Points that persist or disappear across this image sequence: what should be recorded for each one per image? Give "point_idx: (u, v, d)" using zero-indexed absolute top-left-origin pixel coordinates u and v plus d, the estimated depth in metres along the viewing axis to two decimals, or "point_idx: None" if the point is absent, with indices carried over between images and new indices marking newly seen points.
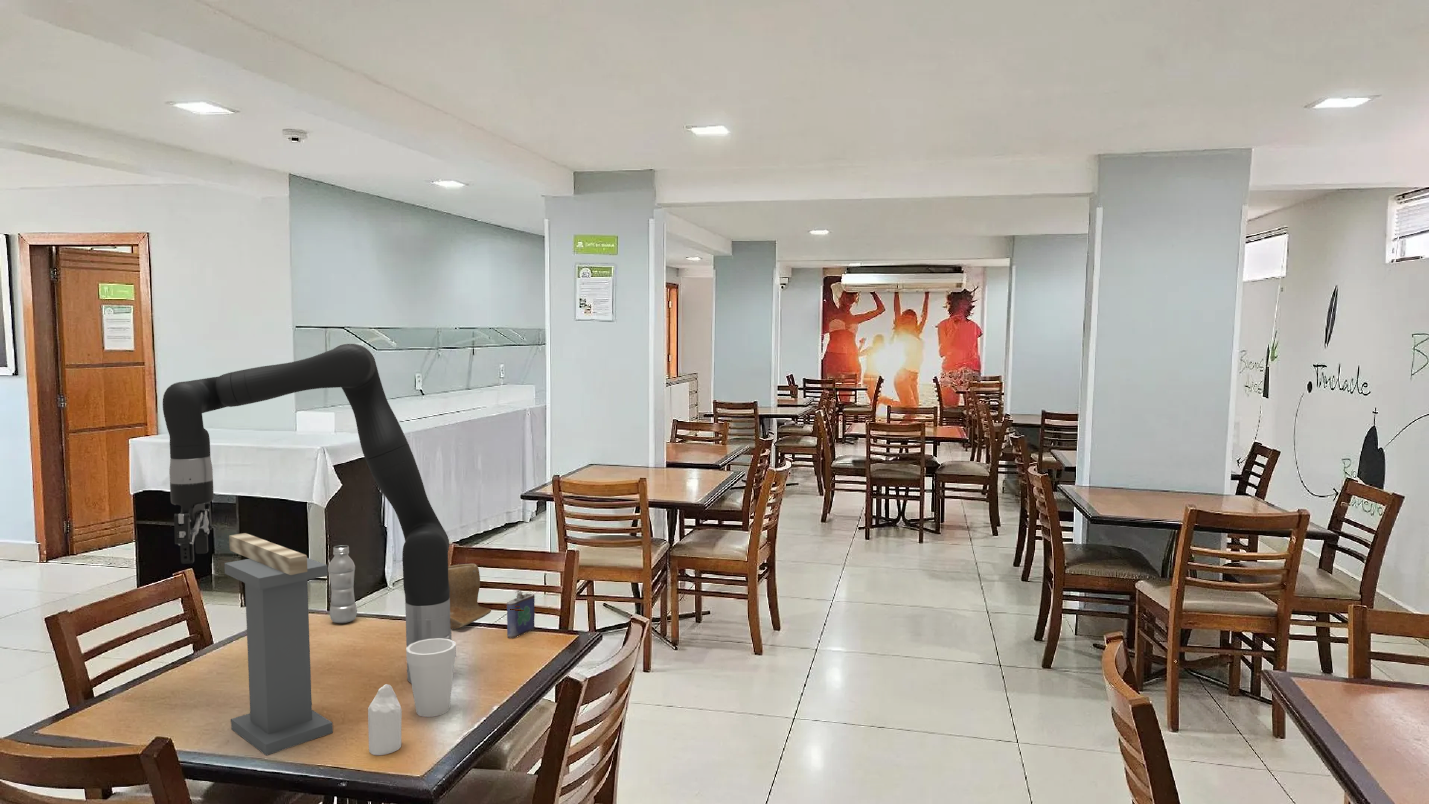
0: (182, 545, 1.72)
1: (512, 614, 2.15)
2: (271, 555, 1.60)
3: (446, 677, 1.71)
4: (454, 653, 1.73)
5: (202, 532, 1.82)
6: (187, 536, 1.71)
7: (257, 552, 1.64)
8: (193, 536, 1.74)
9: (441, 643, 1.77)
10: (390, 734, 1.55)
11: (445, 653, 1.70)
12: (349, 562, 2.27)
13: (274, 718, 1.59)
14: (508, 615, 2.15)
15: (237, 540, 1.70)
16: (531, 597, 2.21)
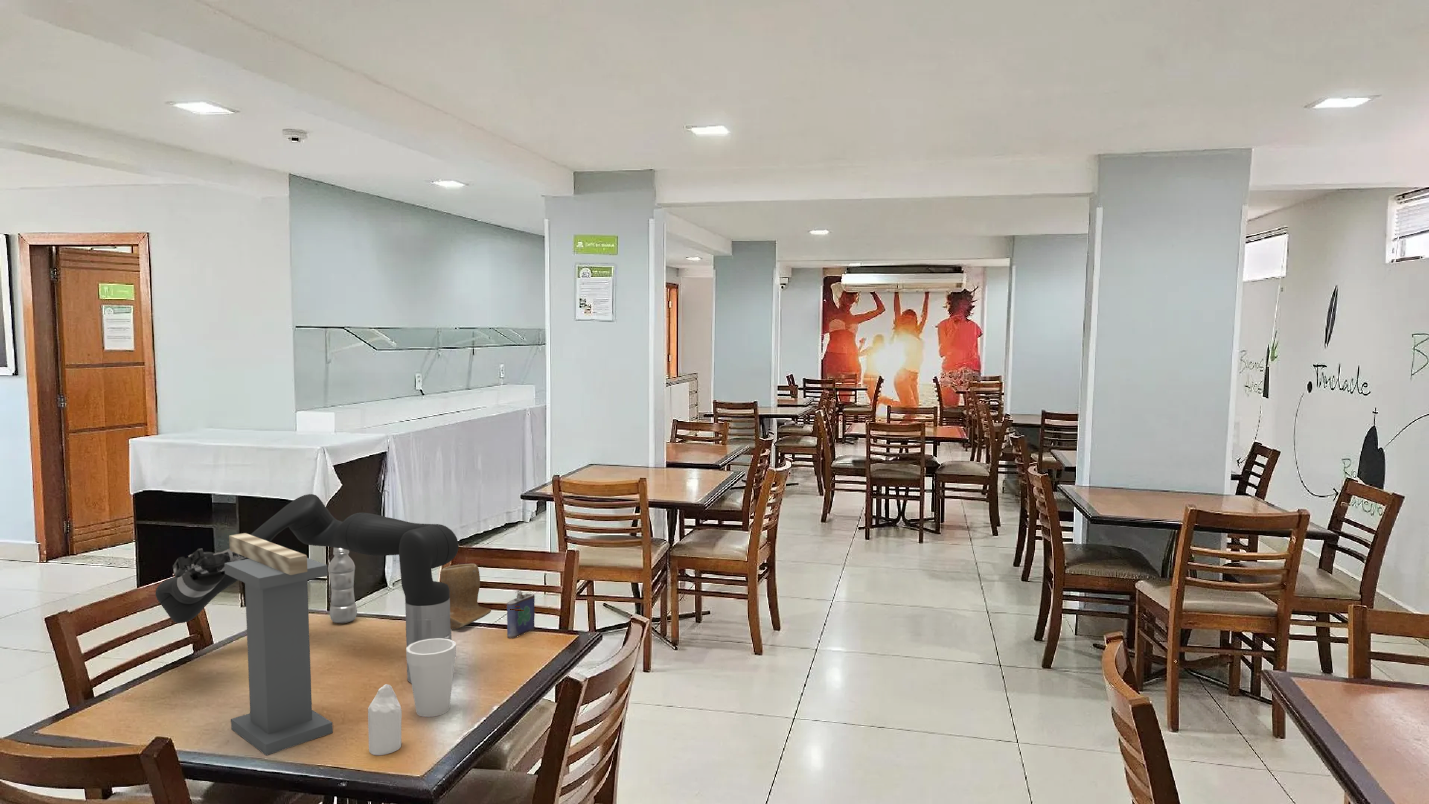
0: (189, 562, 1.77)
1: (512, 614, 2.15)
2: (271, 555, 1.60)
3: (446, 677, 1.71)
4: (454, 653, 1.73)
5: None
6: (177, 560, 1.77)
7: (257, 552, 1.64)
8: None
9: (441, 643, 1.77)
10: (390, 734, 1.55)
11: (445, 653, 1.70)
12: (349, 562, 2.27)
13: (274, 718, 1.59)
14: (508, 615, 2.15)
15: (237, 540, 1.70)
16: (531, 597, 2.21)
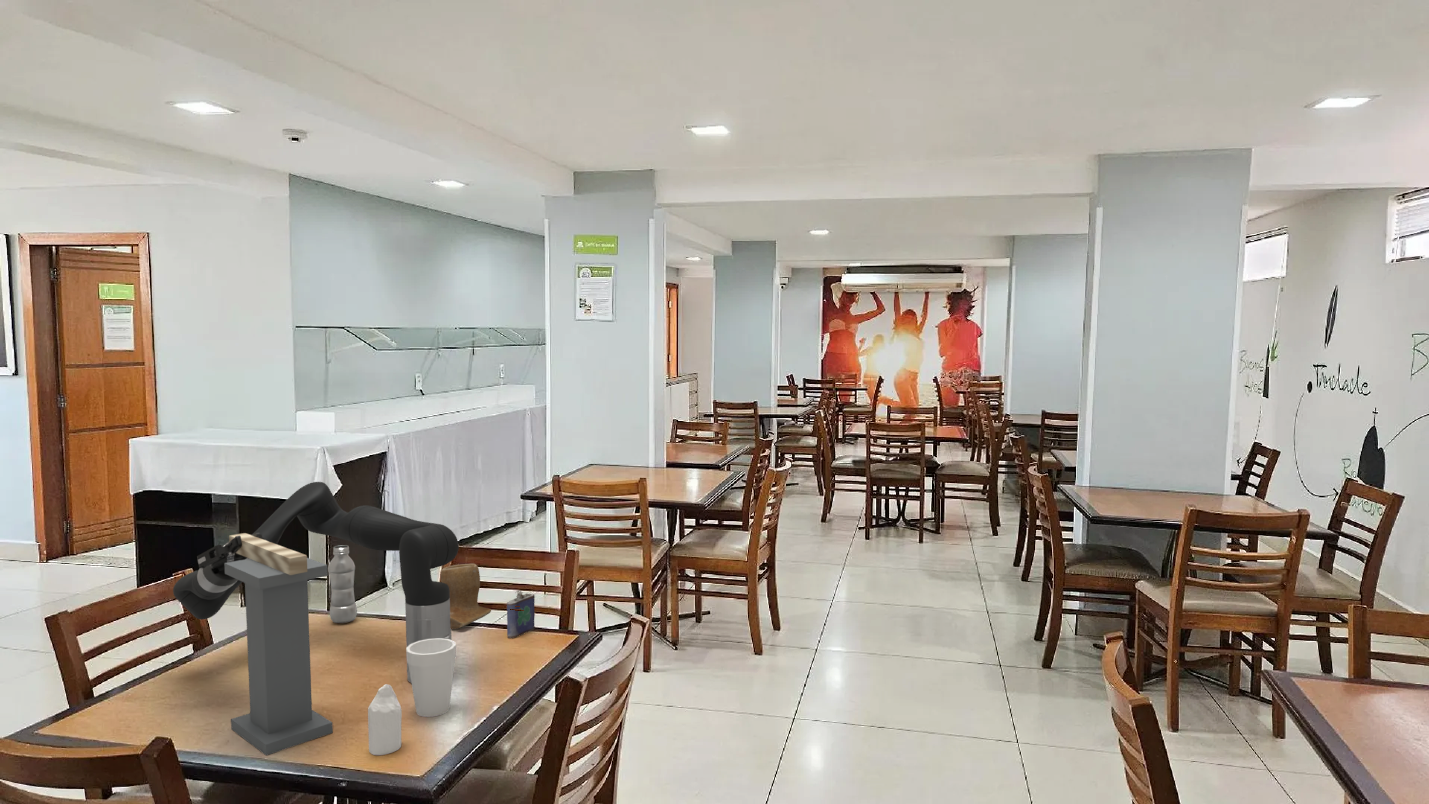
0: (227, 550, 1.70)
1: (512, 614, 2.15)
2: (271, 555, 1.60)
3: (446, 677, 1.71)
4: (454, 653, 1.73)
5: None
6: (212, 548, 1.70)
7: (257, 552, 1.64)
8: None
9: (441, 643, 1.77)
10: (390, 734, 1.55)
11: (445, 653, 1.70)
12: (349, 562, 2.27)
13: (274, 718, 1.59)
14: (508, 615, 2.15)
15: None
16: (531, 597, 2.21)
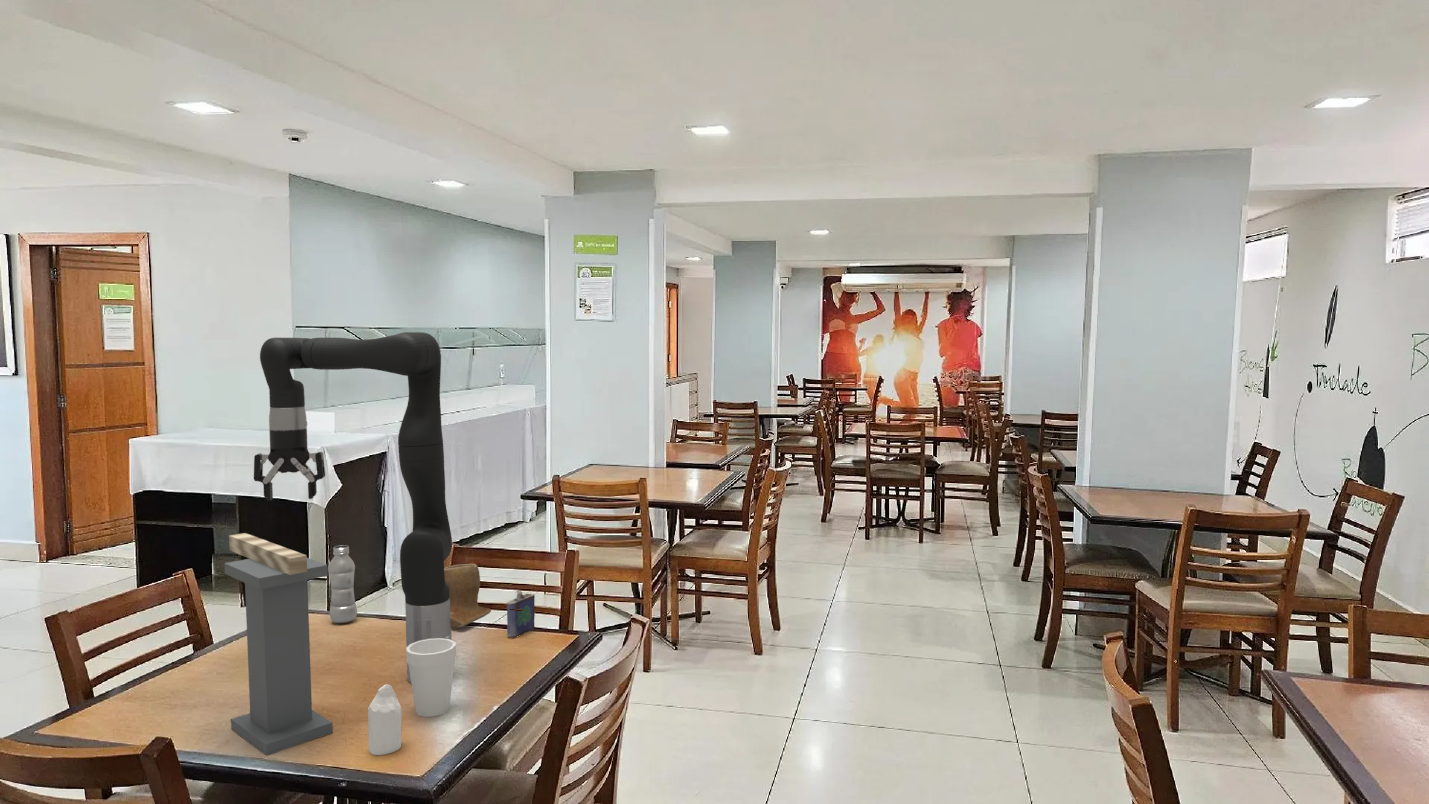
0: None
1: (512, 614, 2.15)
2: (271, 555, 1.60)
3: (446, 677, 1.71)
4: (454, 653, 1.73)
5: None
6: (254, 474, 1.93)
7: (257, 552, 1.64)
8: (267, 476, 1.93)
9: (441, 643, 1.77)
10: (390, 734, 1.55)
11: (445, 653, 1.70)
12: (349, 562, 2.27)
13: (274, 718, 1.59)
14: (508, 615, 2.15)
15: (237, 539, 1.70)
16: (531, 597, 2.21)
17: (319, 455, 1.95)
